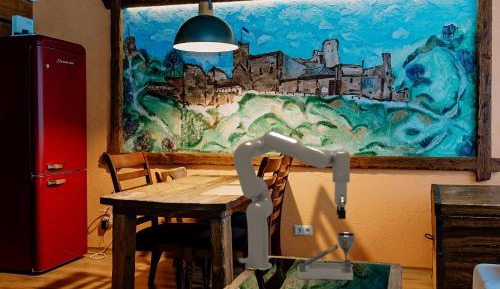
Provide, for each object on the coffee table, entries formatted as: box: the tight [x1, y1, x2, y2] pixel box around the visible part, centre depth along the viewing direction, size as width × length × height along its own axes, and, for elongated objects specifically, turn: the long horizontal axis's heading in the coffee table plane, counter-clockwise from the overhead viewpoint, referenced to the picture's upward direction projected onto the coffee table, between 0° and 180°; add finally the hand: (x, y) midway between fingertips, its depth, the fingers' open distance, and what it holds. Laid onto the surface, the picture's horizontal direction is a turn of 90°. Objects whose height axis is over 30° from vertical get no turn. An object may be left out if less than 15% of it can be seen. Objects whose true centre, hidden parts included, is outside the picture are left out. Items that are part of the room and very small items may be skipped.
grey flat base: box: [297, 258, 354, 281], centre depth 244 cm, size 24×10×7 cm, turn 83°
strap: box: [302, 243, 339, 266], centre depth 244 cm, size 18×5×1 cm
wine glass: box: [336, 231, 355, 268], centre depth 260 cm, size 8×8×15 cm
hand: (341, 216), depth 245 cm, fingers open, 9 cm apart
